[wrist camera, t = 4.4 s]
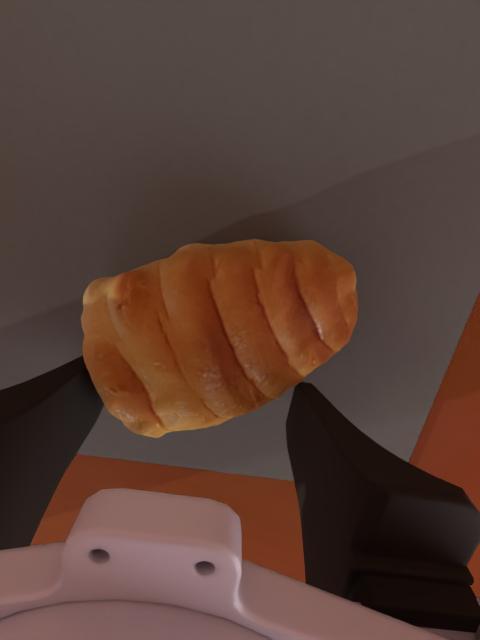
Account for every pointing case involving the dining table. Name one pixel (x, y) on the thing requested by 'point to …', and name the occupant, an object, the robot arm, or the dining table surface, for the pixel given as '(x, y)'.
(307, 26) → the placemat
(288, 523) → the dining table surface
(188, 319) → the pastry
